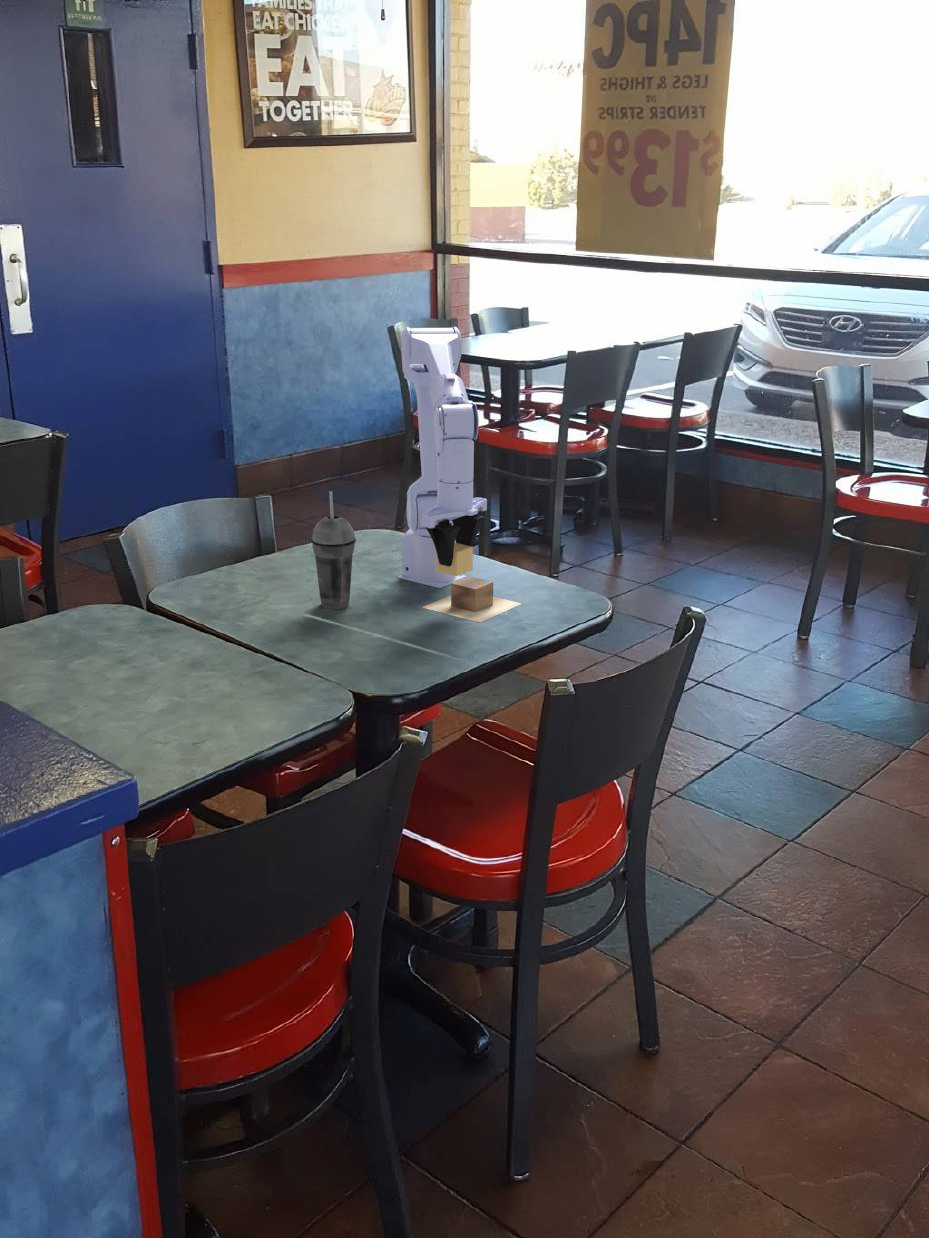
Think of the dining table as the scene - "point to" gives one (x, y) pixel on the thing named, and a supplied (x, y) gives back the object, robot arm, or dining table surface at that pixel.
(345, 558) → the beverage cup
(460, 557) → the ochre block
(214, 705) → the dining table surface
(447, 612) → the build board
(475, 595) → the walnut block
